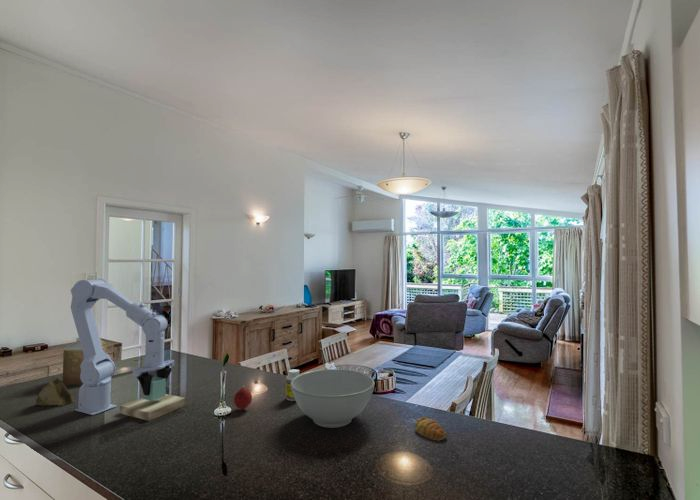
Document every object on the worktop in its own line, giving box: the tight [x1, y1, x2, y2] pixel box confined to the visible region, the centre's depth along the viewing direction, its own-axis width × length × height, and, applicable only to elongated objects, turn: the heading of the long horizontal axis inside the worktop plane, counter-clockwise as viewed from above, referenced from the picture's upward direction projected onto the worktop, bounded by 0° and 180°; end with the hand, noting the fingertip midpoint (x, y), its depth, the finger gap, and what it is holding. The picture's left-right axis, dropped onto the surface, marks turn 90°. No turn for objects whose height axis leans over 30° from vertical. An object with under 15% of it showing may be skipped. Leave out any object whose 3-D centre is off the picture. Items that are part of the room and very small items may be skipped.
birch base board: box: [119, 393, 187, 422], centre depth 125 cm, size 14×14×2 cm
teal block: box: [141, 376, 167, 401], centre depth 125 cm, size 5×5×6 cm
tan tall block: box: [61, 336, 108, 386], centre depth 155 cm, size 11×11×19 cm
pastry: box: [414, 416, 447, 441], centre depth 108 cm, size 9×7×4 cm
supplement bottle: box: [285, 368, 300, 402], centre depth 135 cm, size 6×6×10 cm
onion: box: [233, 385, 253, 411], centre depth 125 cm, size 6×6×8 cm
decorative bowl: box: [291, 368, 376, 429], centre depth 118 cm, size 27×27×12 cm
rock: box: [35, 377, 75, 407], centre depth 130 cm, size 11×9×10 cm
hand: (153, 392), depth 125 cm, fingers closed on teal block, 5 cm apart
